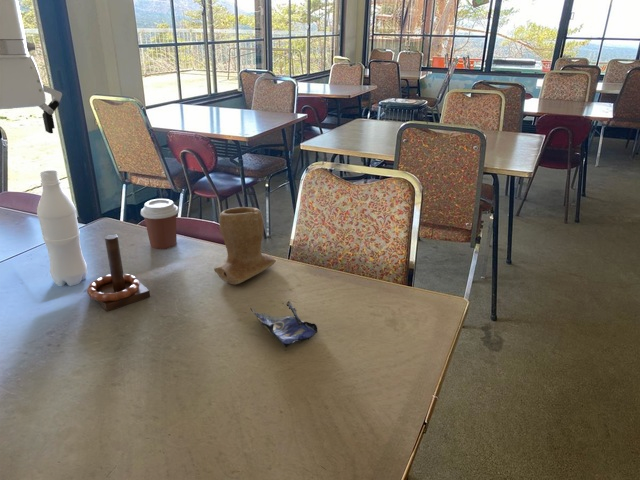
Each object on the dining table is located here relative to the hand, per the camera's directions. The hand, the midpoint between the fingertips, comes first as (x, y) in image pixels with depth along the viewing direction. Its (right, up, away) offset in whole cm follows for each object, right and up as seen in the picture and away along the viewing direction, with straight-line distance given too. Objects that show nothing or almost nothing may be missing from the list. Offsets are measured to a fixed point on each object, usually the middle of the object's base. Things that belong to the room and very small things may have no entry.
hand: (25, 134), depth 103 cm
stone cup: (+45, -30, +10) cm, 55 cm away
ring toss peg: (+21, -34, -1) cm, 40 cm away
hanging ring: (+20, -32, -3) cm, 38 cm away
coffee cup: (+23, -25, +21) cm, 40 cm away
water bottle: (+8, -32, +3) cm, 33 cm away
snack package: (+57, -40, -12) cm, 71 cm away
